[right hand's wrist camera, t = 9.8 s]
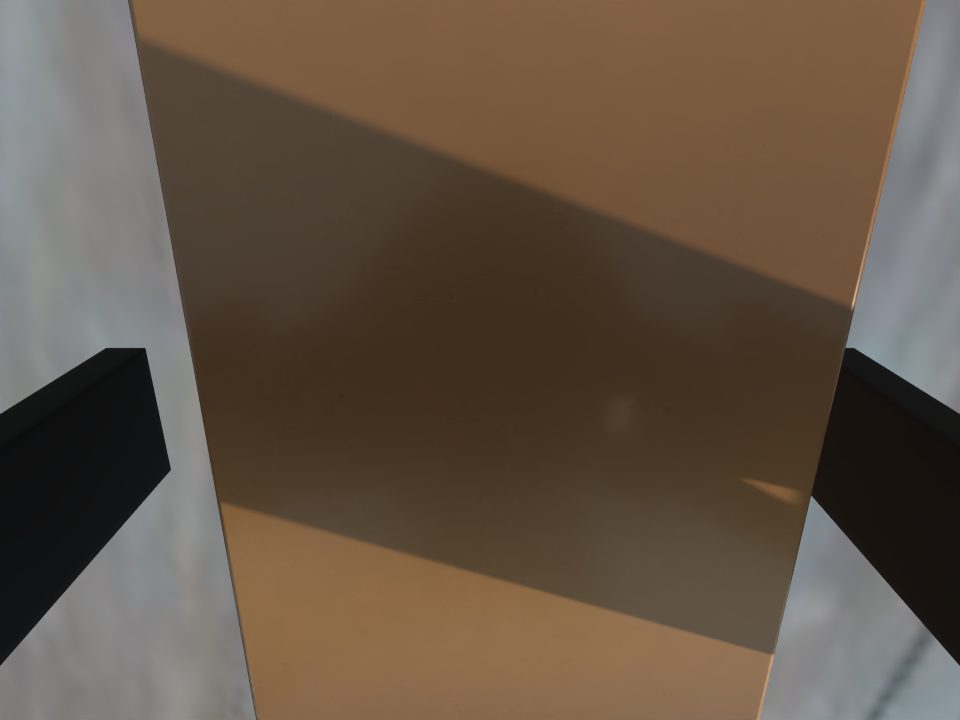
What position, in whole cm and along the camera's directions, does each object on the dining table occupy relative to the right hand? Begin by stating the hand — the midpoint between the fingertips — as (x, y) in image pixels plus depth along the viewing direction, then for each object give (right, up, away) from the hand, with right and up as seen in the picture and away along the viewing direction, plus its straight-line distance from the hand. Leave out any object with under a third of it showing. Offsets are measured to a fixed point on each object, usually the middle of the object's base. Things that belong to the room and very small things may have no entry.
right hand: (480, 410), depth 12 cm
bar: (0, +13, -3) cm, 13 cm away
